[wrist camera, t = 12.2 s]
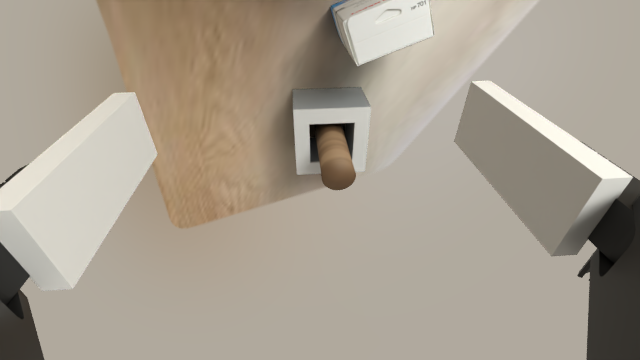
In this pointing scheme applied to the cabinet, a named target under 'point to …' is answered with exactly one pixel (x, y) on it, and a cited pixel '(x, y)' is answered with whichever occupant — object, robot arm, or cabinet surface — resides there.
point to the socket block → (327, 110)
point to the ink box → (381, 26)
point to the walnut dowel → (334, 156)
